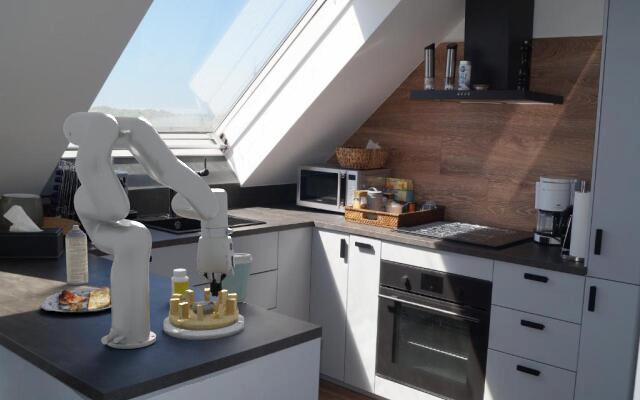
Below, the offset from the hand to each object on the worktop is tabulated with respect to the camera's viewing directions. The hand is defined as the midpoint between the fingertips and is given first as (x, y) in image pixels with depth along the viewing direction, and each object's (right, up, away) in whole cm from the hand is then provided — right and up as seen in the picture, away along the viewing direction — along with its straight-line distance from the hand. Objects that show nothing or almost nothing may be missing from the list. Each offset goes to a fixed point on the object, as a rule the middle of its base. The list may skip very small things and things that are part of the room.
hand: (216, 295), depth 206 cm
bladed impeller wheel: (-2, -6, -8) cm, 10 cm away
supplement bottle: (-14, -4, +20) cm, 25 cm away
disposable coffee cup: (+3, -5, +20) cm, 21 cm away
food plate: (-42, -5, +14) cm, 45 cm away
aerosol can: (-53, -1, +40) cm, 67 cm away
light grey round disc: (-2, -8, -7) cm, 11 cm away
